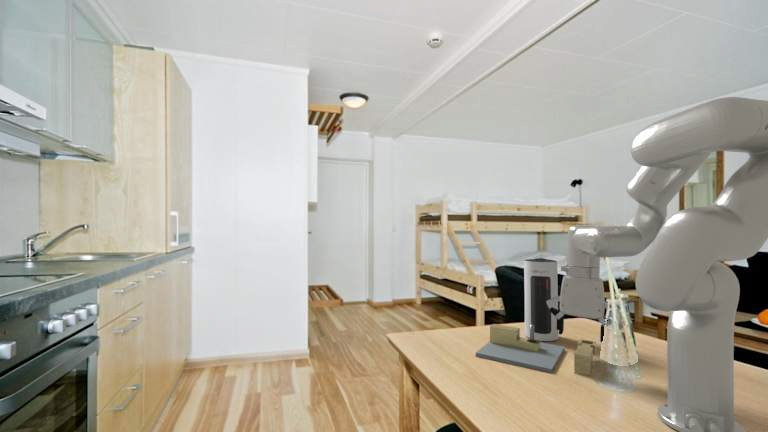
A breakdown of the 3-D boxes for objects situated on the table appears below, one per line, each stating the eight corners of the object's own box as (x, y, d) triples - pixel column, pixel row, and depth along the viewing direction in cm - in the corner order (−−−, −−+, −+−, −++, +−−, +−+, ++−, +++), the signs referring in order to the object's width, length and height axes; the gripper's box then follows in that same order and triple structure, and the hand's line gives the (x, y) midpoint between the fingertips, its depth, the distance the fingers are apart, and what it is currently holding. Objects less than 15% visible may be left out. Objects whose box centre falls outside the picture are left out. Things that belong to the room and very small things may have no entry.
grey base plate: (551, 373, 92) (551, 369, 92) (475, 356, 104) (475, 352, 104) (564, 350, 109) (564, 346, 109) (497, 337, 120) (497, 334, 120)
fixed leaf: (537, 352, 104) (537, 327, 104) (489, 342, 112) (489, 320, 112) (540, 348, 107) (540, 324, 107) (493, 339, 115) (493, 317, 115)
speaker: (520, 337, 120) (519, 259, 121) (529, 330, 129) (528, 256, 129) (554, 344, 114) (554, 261, 114) (561, 336, 122) (561, 258, 123)
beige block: (591, 377, 90) (591, 357, 90) (573, 373, 92) (573, 353, 92) (596, 359, 102) (596, 341, 102) (580, 356, 104) (580, 339, 104)
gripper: (544, 270, 97) (543, 334, 97) (621, 278, 87) (619, 349, 88) (550, 267, 103) (548, 326, 104) (622, 274, 93) (620, 340, 94)
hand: (581, 336), depth 96 cm, fingers open, 9 cm apart
